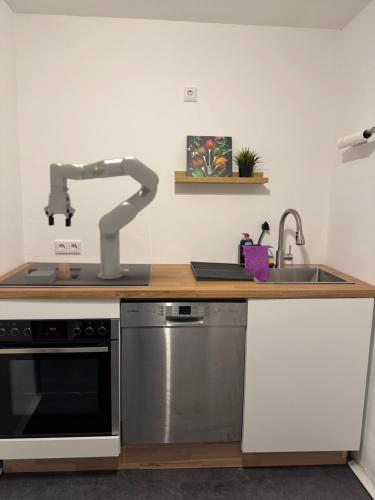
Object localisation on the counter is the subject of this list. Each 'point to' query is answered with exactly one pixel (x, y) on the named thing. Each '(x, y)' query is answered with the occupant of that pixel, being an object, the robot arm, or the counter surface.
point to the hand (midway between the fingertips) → (59, 225)
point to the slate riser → (41, 277)
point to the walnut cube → (31, 270)
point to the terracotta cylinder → (64, 270)
